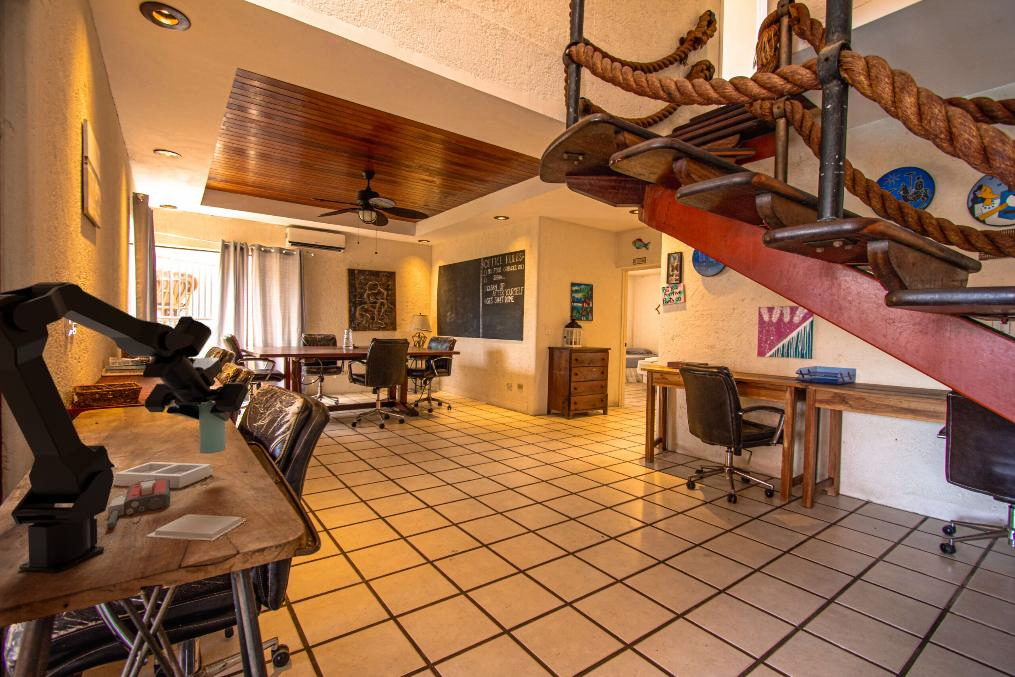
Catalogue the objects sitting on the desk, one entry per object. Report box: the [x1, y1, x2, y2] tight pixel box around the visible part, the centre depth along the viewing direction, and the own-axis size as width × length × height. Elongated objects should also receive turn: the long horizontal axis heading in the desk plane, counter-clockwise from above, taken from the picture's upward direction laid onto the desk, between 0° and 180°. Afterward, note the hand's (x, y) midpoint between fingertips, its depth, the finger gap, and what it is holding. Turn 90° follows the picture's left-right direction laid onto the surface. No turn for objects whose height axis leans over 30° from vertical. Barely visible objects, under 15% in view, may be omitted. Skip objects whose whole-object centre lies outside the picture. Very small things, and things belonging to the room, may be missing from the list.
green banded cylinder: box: [198, 400, 227, 455], centre depth 98 cm, size 5×5×13 cm
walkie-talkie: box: [106, 478, 171, 528], centre depth 84 cm, size 9×4×20 cm
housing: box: [112, 461, 214, 489], centre depth 99 cm, size 9×16×2 cm, turn 82°
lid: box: [145, 513, 244, 542], centre depth 75 cm, size 12×8×1 cm, turn 82°
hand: (216, 419), depth 99 cm, fingers closed on green banded cylinder, 5 cm apart
